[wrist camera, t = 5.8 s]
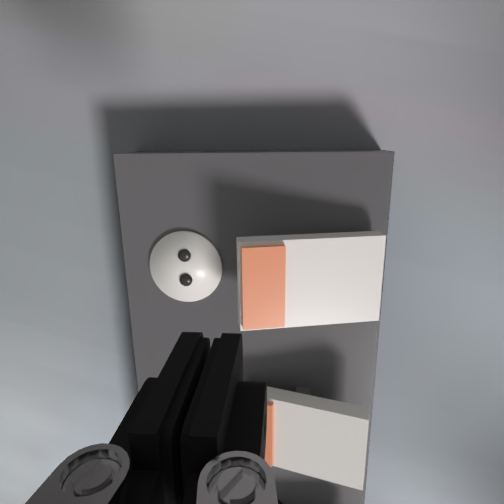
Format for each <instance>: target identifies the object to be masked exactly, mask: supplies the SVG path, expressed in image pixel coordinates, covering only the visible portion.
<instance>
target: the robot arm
mask: <svg viewBox="0 0 504 504" xmlns="http://www.w3.org/2000/svg"><path fill="white" fill-rule="evenodd" d="M266 430H267V382H256V381H243V341H242V333H222V334H221V337H220V338H214V340H213V343H212V346H211V348H210V339H209V338H205V337H203V333H202V332H182V333H181V335H180V337H179V338H178V340H177V342H176V344H175V346H174V348H173V350H172V352H171V353H170V355H169V357H168V359H167V361H166V363H165V365H164V367H163V368H162V370H161V372H160V374H159V376H158V378H156V377H149V378H147V379H146V381H145V382H144V384H143V385H142V387H141V389H140V391H139V392H138V394H137V396H136V398H135V399H134V401H133V403H132V404H131V406H130V408H129V410H128V411H127V413H126V415H125V417H124V418H123V420H122V422H121V424H120V425H119V427H118V429H117V430H116V432H115V434H114V436H113V437H112V439H111V441H110V443H109V444H103V443H102V444H96V445H90V446H88V447H85V448H83V449H80V450H78V451H76V452H75V453H73V454H72V455H70V456H68V457H67V458H66V459H65V460H64V461H63V462H62V463H61V464H60V465H59V466H58V467H57V468H56V469H55V470H54V471H53V472H52V474H51V475H50V476H49V477H48V478H47V479H46V480H45V482H44V483H43V484H42V485H41V486H40V487H39V488H38V489H37V491H36V492H35V493H34V494H33V495H32V496H31V497H30V499H29V500H28V501H27V502H26V503H25V504H283V503H282V502H281V501H280V500H279V499H277V492H276V485H275V478H274V475H273V472H272V469H271V467H270V466H269V465H268V463H267V462H266V461H265V448H266Z"/></svg>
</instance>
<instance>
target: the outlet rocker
mask: <svg viewBox="0 0 504 504" xmlns="http://www.w3.org/2000/svg"><path fill="white" fill-rule="evenodd" d="M369 415H370V408H369V407H364V406H360V405H355V404H350V403H345V402H340V401H336V400H331V399H326V398H321V397H316V396H311V395H307V394H302V393H297V392H292V391H287V390H282V389H278V388H273V387H268V386H267V430H266V448H265V461H266V462H267V463H268V465H269V466H270V467H272V466H275V467H279V468H282V469H286V470H290V471H293V472H297V473H300V474H304V475H308V476H311V477H315V478H319V479H322V480H326V481H329V482H333V483H337V484H340V485H344V486H347V487H351V488H355V489H358V490H362V491H363V484H364V474H365V463H366V451H367V439H368V427H369Z"/></svg>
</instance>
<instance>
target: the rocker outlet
mask: <svg viewBox="0 0 504 504" xmlns="http://www.w3.org/2000/svg"><path fill="white" fill-rule="evenodd" d="M385 243H386V235H384V234H382V233H380V232H378V231H361V232H338V233H316V234H293V235H271V236H248V237H236V244H237V287H238V323H239V327H240V331H249V330H262V329H275V328H288V327H301V326H314V325H327V324H341V323H354V322H367V321H379V314H380V302H381V290H382V279H383V267H384V255H385Z"/></svg>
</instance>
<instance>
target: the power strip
mask: <svg viewBox="0 0 504 504" xmlns="http://www.w3.org/2000/svg"><path fill="white" fill-rule="evenodd" d="M113 158H114V168H115V177H116V187H117V196H118V206H119V215H120V224H121V234H122V243H123V253H124V262H125V272H126V281H127V290H128V300H129V309H130V319H131V328H132V338H133V347H134V357H135V366H136V375H137V385H138V392H139V391H140V389H141V387H142V385H143V384H144V382H145V381H146V379H147V378H149V377H156V378H158V376H159V374H160V372H161V370H162V368H163V367H164V365H165V363H166V361H167V359H168V357H169V355H170V353H171V352H172V350H173V348H174V346H175V344H176V342H177V340H178V338H179V337H180V335H181V333H182V332H202V333H203V337H205V338H209V339H210V348H211V346H212V343H213V340H214V338H220V337H221V334H222V333H242V341H243V381H256V382H267V386H268V387H273V388H278V389H282V390H287V391H292V392H297V393H302V394H307V395H311V396H316V397H321V398H326V399H331V400H336V401H340V402H345V403H350V404H355V405H360V406H364V407H369V408H370V415H369V427H368V439H367V451H366V463H365V474H364V484H363V491H362V490H358V489H355V488H351V487H347V486H344V485H340V484H337V483H333V482H329V481H326V480H322V479H319V478H315V477H311V476H308V475H304V474H300V473H297V472H293V471H290V470H286V469H282V468H279V467H275V466H272V467H271V469H272V472H273V475H274V478H275V485H276V492H277V499H279V500H280V501H281V502H282V503H283V504H364V500H365V489H366V477H367V465H368V454H369V442H370V430H371V419H372V407H373V395H374V384H375V372H376V360H377V349H378V337H379V325H380V314H381V302H382V290H383V279H384V267H385V255H386V244H387V232H388V220H389V209H390V197H391V185H392V174H393V162H394V151H387V150H304V151H193V152H130V153H117V154H113ZM361 231H378V232H380V233H382V234H384V235H386V243H385V255H384V267H383V279H382V290H381V302H380V314H379V321H367V322H354V323H341V324H327V325H314V326H301V327H288V328H275V329H262V330H249V331H240V327H239V323H238V287H237V244H236V237H248V236H271V235H293V234H316V233H338V232H361Z"/></svg>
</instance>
